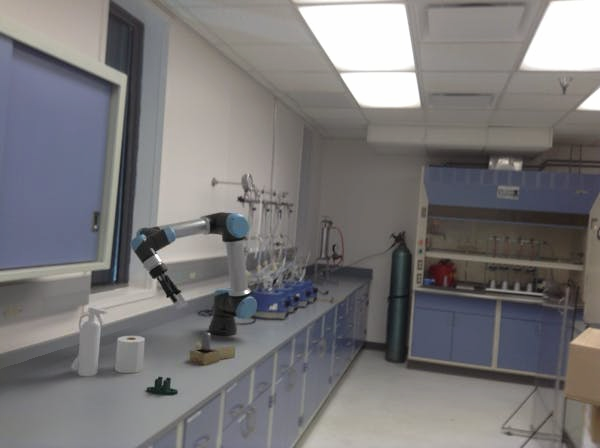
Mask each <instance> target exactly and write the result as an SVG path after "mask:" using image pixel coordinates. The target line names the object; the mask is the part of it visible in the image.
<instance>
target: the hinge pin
mask: <svg viewBox="0 0 600 448" xmlns="http://www.w3.org/2000/svg"><path fill="white" fill-rule="evenodd" d="M201 335H202V336H201V352H202V353H209V350H210V348H211V339H212V338H211V337H212V333H209V332H208V331H205V332H204V331H203V332H202V333H201Z"/></svg>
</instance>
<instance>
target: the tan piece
mask: <svg viewBox="0 0 600 448" xmlns="http://www.w3.org/2000/svg"><path fill="white" fill-rule="evenodd" d="M201 344H202V342H200V341H196V342H195V348H194V349H193V348H192V349H190V350H189V361H190V362H192V363H196V364H197V365H202V366H207V365H211V364H215V363H216V364H217V363H219V362H220V360H224V359H232V358H235V357H236V346H228V347H227V346H226V347H219V348H211V347H210V350H209V353H202V352H201Z"/></svg>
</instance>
